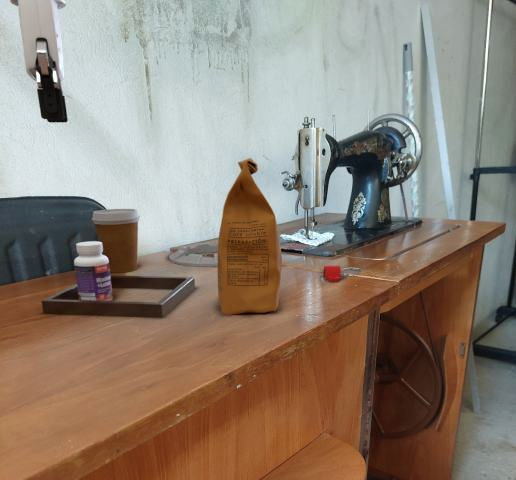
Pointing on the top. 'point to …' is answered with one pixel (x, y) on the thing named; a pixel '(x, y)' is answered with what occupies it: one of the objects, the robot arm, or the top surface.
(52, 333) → the top surface
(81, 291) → the pill bottle
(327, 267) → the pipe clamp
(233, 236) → the coffee package
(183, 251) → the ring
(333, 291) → the top surface
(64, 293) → the walnut frame
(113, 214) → the disposable coffee cup
